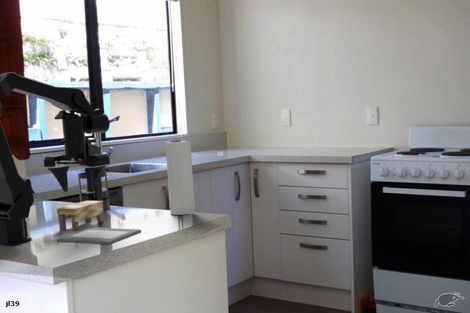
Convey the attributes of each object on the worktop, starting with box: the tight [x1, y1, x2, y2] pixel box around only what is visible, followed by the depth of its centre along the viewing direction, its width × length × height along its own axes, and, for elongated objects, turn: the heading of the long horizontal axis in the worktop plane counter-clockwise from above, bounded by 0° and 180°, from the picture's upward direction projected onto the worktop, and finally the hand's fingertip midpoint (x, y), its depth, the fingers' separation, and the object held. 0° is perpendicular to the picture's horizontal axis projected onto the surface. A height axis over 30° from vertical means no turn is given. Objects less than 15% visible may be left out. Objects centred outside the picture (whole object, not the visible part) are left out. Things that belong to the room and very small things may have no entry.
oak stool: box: [56, 201, 104, 232], centre depth 163 cm, size 12×6×6 cm, turn 154°
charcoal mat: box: [56, 226, 142, 245], centre depth 148 cm, size 13×16×1 cm
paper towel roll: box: [164, 140, 196, 216], centre depth 171 cm, size 7×6×21 cm
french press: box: [77, 137, 111, 212], centre depth 187 cm, size 12×9×23 cm
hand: (78, 191), depth 162 cm, fingers open, 9 cm apart
